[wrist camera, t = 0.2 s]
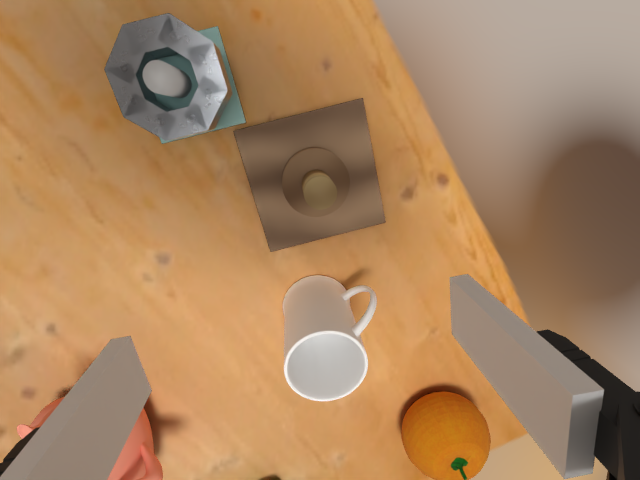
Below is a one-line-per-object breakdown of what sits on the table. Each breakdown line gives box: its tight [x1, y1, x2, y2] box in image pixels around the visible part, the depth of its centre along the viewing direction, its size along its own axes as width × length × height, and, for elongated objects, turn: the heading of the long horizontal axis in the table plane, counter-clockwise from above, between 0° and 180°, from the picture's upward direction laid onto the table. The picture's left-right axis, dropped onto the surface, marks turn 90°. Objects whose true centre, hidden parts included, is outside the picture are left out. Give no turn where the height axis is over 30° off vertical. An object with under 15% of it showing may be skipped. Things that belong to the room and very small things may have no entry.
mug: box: [283, 275, 377, 401], centre depth 39 cm, size 12×8×12 cm
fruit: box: [401, 392, 491, 480], centre depth 48 cm, size 12×12×10 cm
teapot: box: [17, 397, 163, 480], centre depth 41 cm, size 17×16×13 cm
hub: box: [233, 98, 386, 252], centre depth 36 cm, size 14×14×8 cm
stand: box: [143, 26, 246, 144], centre depth 31 cm, size 9×9×9 cm
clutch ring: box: [104, 13, 233, 141], centre depth 30 cm, size 9×9×3 cm
